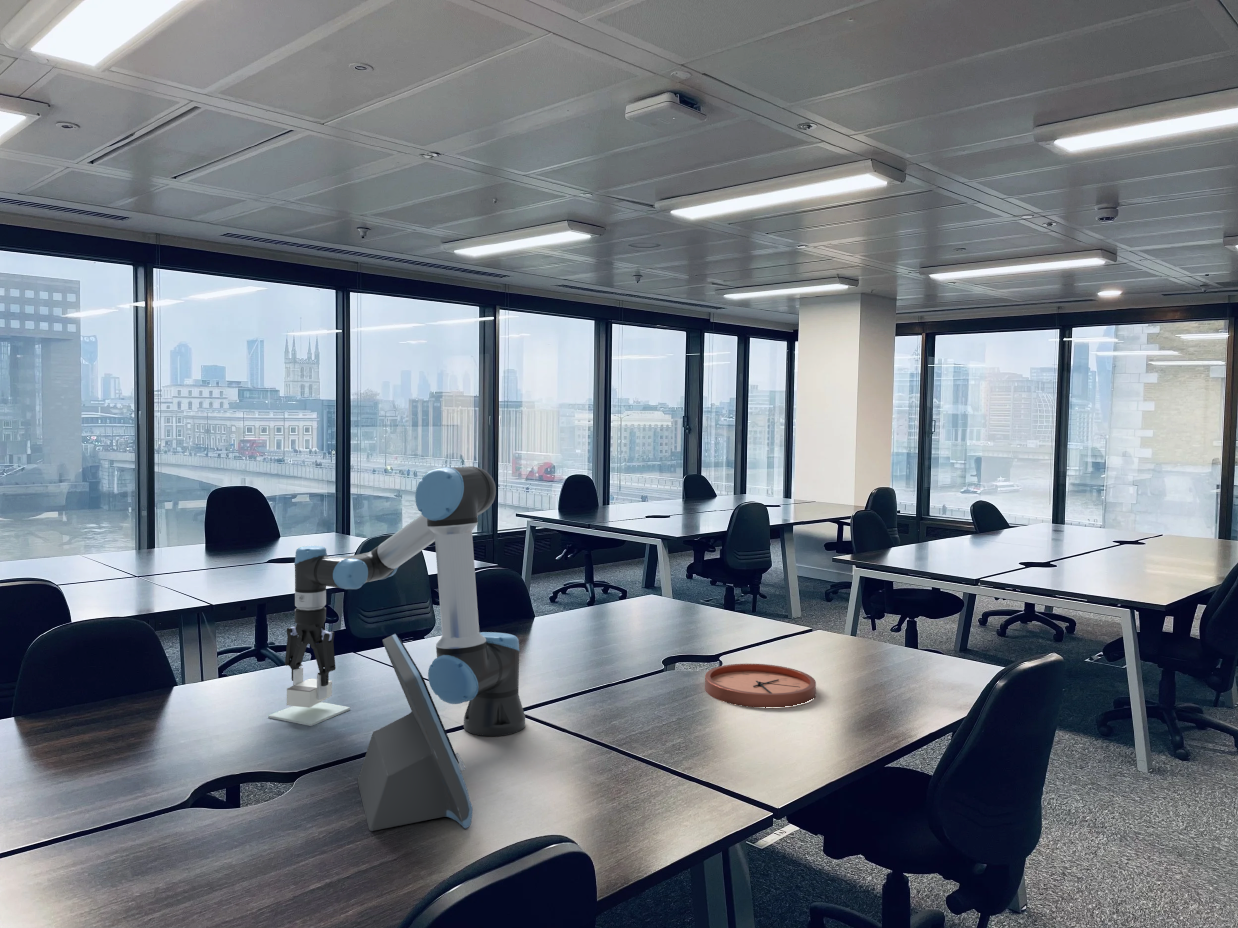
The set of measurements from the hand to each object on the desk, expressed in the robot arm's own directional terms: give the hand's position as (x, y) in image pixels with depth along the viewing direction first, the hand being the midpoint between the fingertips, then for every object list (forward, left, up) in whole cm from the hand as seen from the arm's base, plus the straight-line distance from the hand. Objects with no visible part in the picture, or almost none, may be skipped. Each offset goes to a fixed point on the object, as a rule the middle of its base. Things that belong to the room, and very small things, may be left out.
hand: (309, 695), depth 221 cm
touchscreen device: (-55, +30, -5) cm, 62 cm away
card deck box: (0, 0, -1) cm, 1 cm away
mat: (0, 0, -5) cm, 5 cm away
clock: (-99, -72, -5) cm, 123 cm away
